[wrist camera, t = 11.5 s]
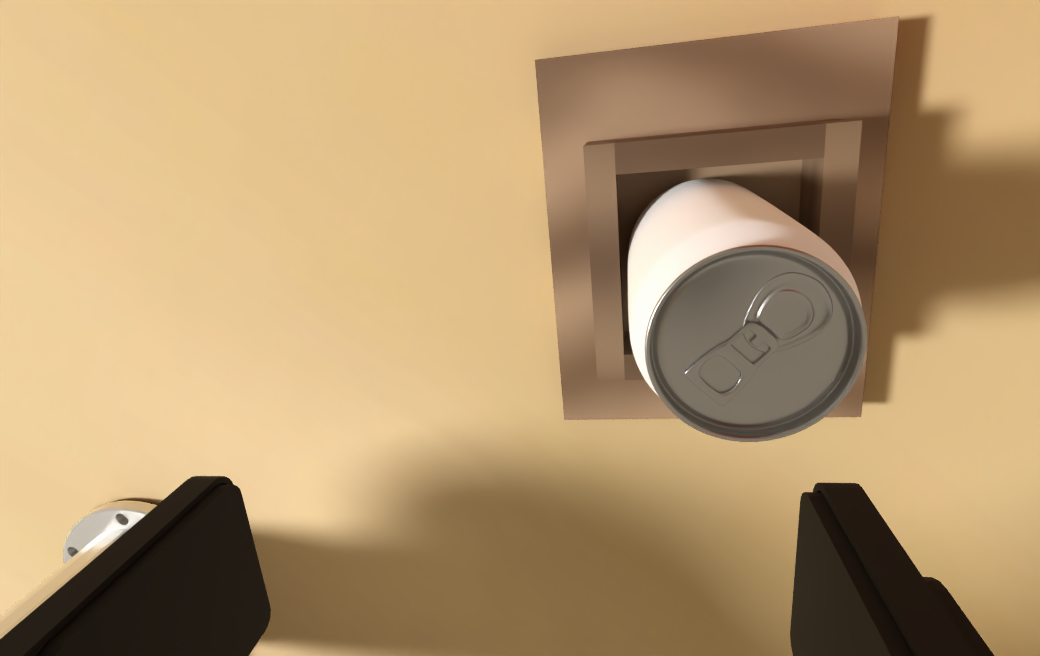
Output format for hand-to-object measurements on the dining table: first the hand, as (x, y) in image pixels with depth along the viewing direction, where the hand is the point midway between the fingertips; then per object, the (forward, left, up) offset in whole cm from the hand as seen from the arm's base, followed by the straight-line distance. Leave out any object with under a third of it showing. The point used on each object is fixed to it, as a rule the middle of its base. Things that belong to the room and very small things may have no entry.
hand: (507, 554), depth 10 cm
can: (0, -5, -20) cm, 21 cm away
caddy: (+1, -6, -21) cm, 22 cm away
